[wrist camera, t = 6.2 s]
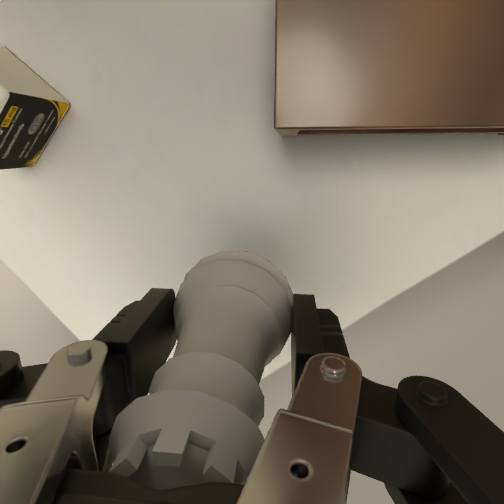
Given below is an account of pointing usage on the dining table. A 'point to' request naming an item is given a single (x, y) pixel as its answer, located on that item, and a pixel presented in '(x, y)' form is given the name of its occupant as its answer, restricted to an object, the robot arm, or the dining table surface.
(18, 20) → the dining table surface
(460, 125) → the shelf
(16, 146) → the medicine bottle
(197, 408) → the rook chess piece
